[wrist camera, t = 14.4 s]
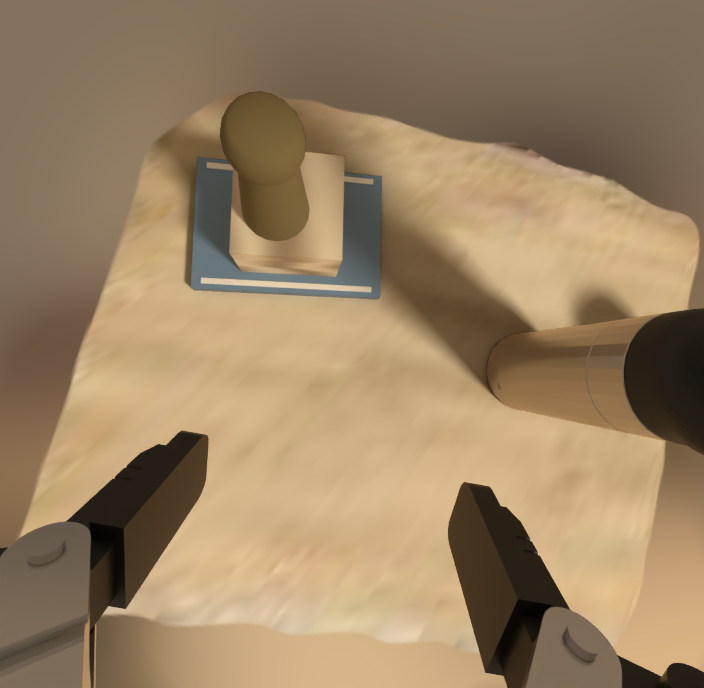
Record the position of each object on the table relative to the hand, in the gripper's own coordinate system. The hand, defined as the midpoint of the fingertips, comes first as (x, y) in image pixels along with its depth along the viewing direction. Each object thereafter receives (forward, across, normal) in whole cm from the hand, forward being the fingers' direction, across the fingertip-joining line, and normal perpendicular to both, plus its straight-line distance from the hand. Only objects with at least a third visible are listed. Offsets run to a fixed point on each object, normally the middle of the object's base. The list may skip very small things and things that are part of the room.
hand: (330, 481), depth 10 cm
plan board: (+30, +9, -7) cm, 32 cm away
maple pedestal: (+29, +9, -7) cm, 31 cm away
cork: (+24, +9, -9) cm, 27 cm away
